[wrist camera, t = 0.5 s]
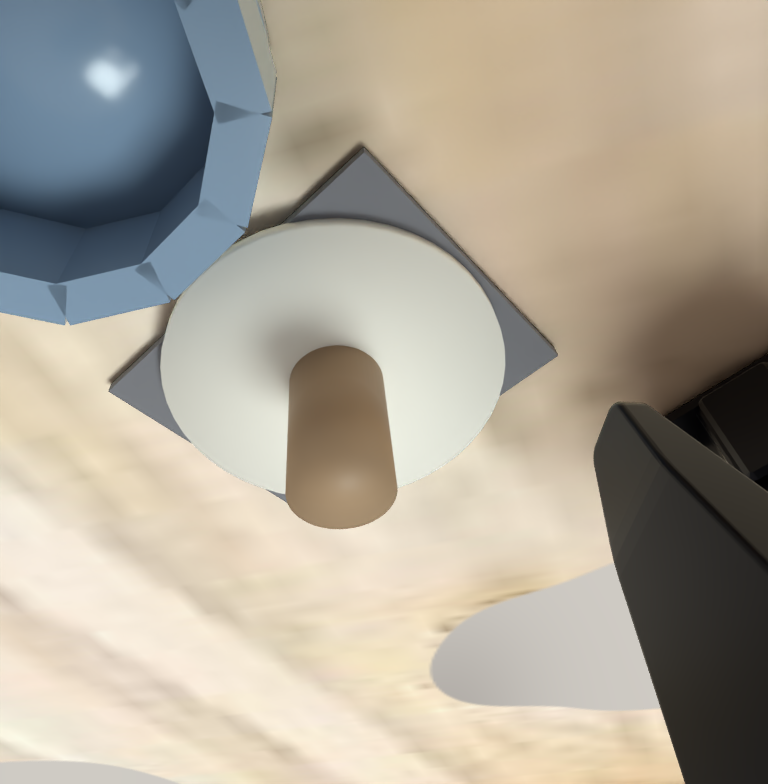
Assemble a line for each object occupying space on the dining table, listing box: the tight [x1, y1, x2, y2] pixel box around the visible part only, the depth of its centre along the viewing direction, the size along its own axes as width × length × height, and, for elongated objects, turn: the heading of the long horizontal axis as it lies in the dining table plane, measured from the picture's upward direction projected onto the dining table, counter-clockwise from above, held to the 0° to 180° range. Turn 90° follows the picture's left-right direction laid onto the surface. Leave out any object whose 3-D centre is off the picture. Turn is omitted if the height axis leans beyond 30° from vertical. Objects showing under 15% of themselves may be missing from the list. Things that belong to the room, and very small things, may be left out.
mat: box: [108, 147, 558, 502], centre depth 25 cm, size 10×12×1 cm
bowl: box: [0, 0, 277, 325], centre depth 16 cm, size 11×11×4 cm
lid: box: [160, 218, 505, 529], centre depth 22 cm, size 12×12×6 cm
